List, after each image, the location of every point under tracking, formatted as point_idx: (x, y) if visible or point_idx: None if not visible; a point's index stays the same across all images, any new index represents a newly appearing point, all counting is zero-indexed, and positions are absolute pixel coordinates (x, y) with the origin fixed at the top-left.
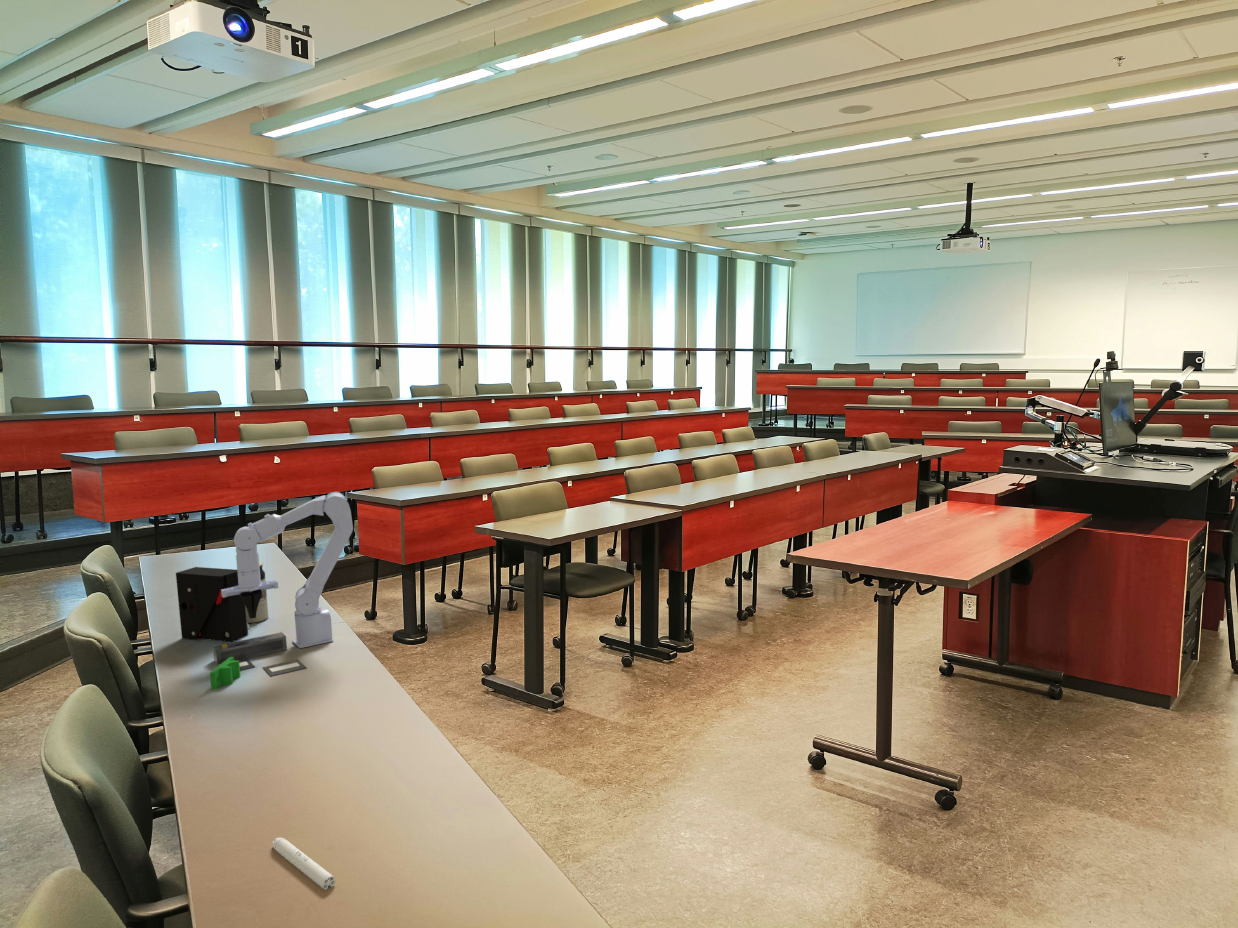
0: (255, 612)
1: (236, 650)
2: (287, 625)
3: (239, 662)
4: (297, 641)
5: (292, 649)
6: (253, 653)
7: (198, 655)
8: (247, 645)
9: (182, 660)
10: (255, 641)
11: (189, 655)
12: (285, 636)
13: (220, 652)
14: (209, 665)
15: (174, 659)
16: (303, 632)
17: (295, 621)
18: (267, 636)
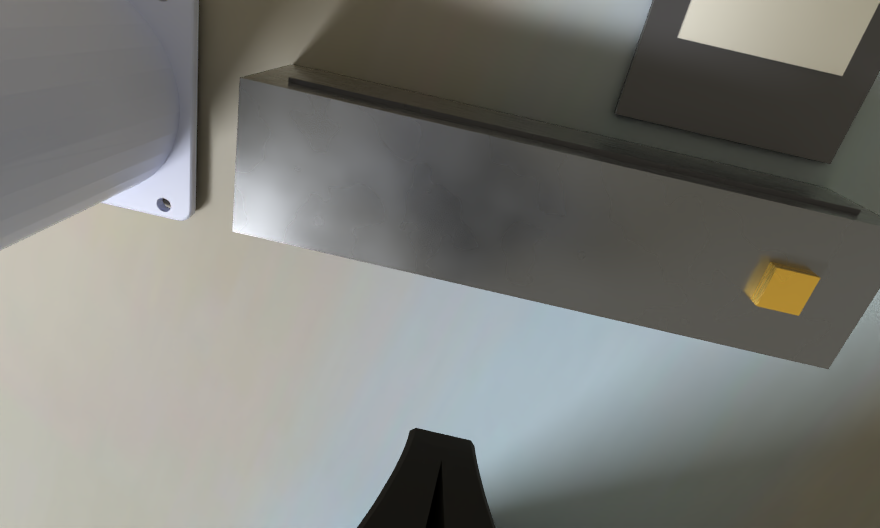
0: (408, 472)
1: (715, 174)
2: (129, 517)
3: (717, 71)
4: (170, 101)
5: (255, 32)
6: (560, 128)
7: (743, 469)
8: (618, 161)
9: (860, 465)
10: (526, 177)
11: (770, 508)
12: (247, 76)
13: (859, 213)
14: None
15: (866, 514)
16: (59, 15)
17: (34, 156)
18: (377, 224)
